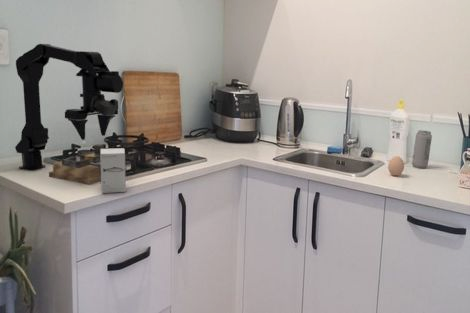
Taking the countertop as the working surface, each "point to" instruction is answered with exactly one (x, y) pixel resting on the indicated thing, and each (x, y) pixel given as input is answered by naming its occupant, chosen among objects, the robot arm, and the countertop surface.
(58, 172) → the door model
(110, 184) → the supplement box
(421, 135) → the energy drink can
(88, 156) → the yellow and black block
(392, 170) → the egg
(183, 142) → the countertop surface
